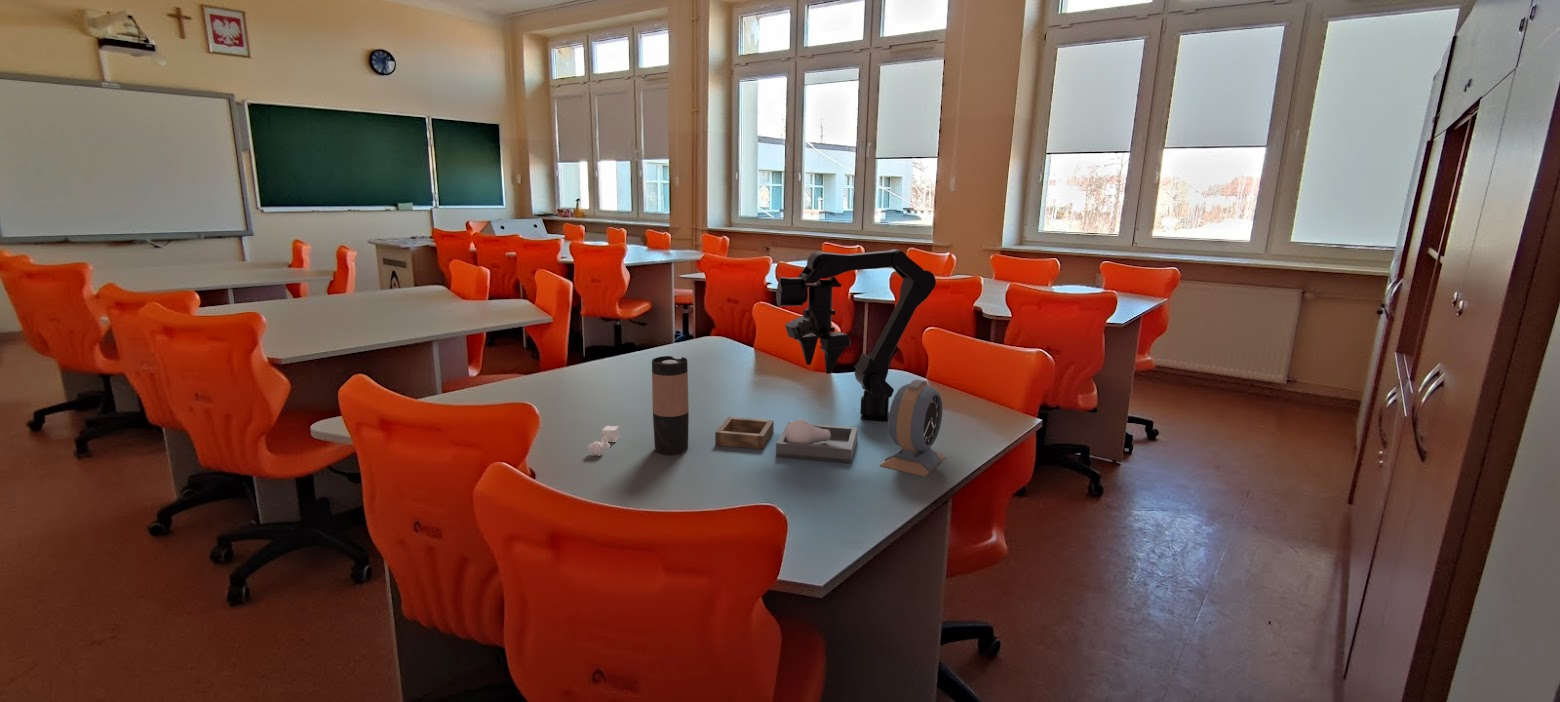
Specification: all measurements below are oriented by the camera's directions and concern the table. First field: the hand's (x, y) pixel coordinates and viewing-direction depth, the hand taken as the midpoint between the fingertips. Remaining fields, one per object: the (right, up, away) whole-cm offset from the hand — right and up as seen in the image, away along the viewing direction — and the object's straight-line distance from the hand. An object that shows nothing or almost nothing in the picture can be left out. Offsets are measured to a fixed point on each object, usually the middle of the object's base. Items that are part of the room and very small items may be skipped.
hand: (818, 369), depth 170 cm
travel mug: (-33, -17, -18) cm, 41 cm away
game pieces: (-48, -17, -17) cm, 53 cm away
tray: (-1, -17, -16) cm, 23 cm away
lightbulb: (+2, -14, -14) cm, 20 cm away
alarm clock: (+19, -19, -22) cm, 35 cm away
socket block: (-17, -16, -11) cm, 26 cm away
